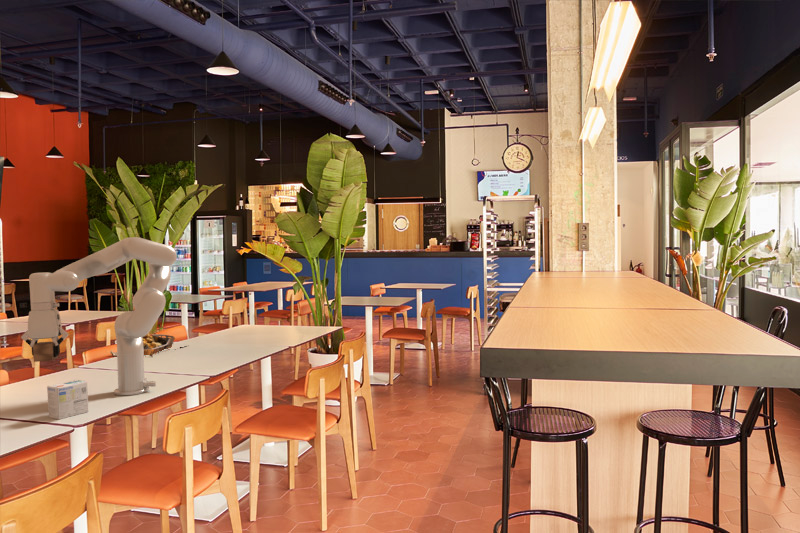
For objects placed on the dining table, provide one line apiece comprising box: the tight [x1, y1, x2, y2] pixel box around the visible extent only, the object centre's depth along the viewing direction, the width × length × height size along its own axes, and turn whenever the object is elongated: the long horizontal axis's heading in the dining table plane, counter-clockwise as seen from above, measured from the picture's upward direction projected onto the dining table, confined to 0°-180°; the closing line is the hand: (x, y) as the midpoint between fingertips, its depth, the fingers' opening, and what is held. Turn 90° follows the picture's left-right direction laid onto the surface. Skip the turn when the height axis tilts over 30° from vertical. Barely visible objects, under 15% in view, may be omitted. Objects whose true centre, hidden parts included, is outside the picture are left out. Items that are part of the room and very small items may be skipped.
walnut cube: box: [32, 340, 60, 363], centre depth 218 cm, size 6×6×6 cm
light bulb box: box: [46, 379, 89, 420], centre depth 207 cm, size 11×7×11 cm, turn 149°
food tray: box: [110, 333, 176, 358], centre depth 334 cm, size 35×26×11 cm
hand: (46, 356), depth 219 cm, fingers closed on walnut cube, 6 cm apart
